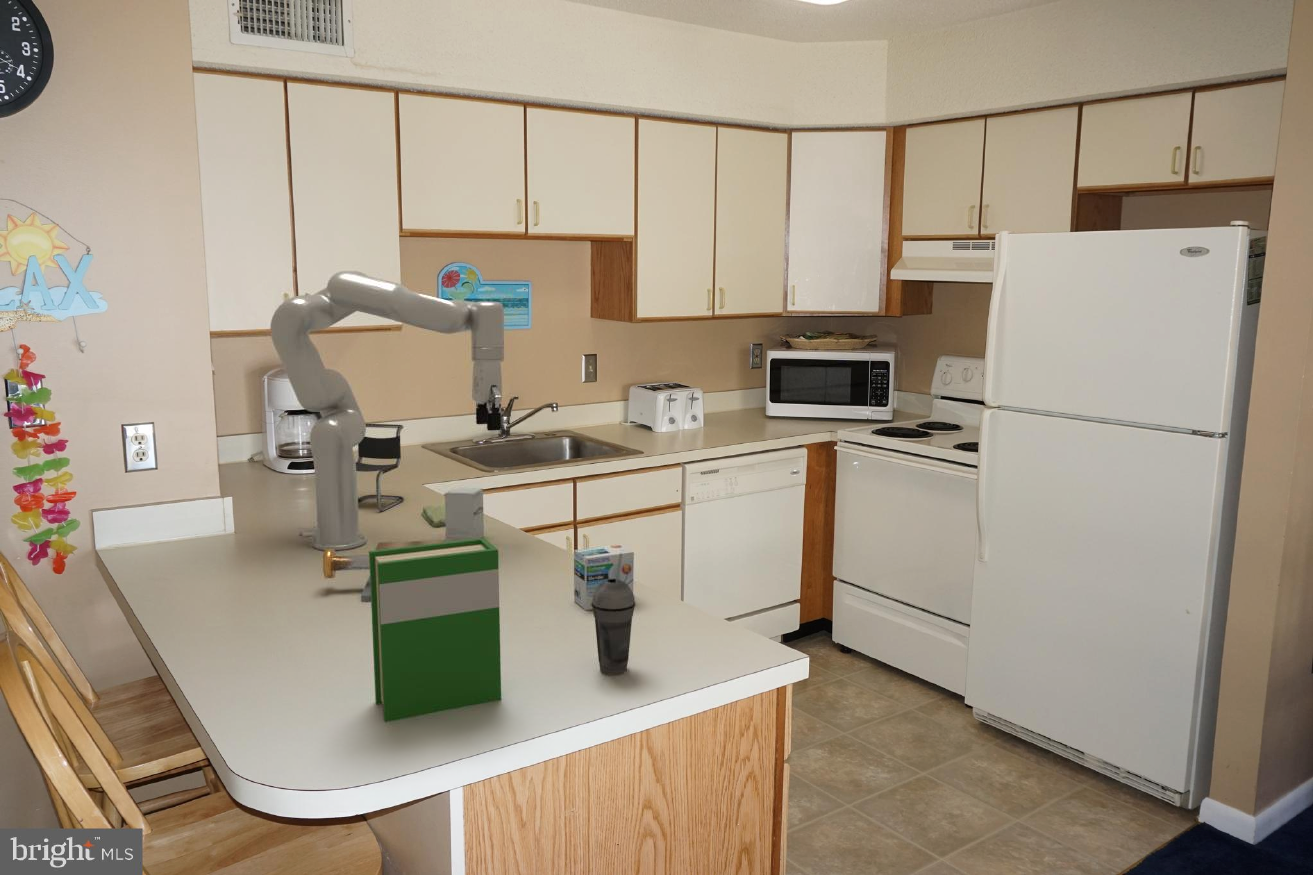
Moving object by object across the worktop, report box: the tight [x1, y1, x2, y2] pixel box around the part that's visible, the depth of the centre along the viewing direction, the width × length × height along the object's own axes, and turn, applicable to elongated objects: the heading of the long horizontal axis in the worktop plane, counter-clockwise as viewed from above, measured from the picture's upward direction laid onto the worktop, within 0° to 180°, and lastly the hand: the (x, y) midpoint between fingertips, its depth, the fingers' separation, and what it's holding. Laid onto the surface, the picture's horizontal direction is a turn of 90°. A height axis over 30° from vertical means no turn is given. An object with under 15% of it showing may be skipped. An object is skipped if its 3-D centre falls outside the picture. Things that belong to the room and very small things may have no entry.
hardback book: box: [368, 537, 502, 723], centre depth 148 cm, size 18×7×24 cm, turn 116°
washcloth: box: [420, 504, 446, 528], centre depth 261 cm, size 13×18×3 cm
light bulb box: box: [573, 543, 635, 611], centre depth 194 cm, size 11×7×11 cm, turn 117°
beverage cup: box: [591, 553, 636, 676], centre depth 160 cm, size 7×7×20 cm
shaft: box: [322, 549, 370, 580], centre depth 202 cm, size 20×6×6 cm, turn 99°
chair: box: [355, 423, 404, 512], centre depth 273 cm, size 13×17×22 cm
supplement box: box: [444, 486, 485, 542], centre depth 239 cm, size 7×7×13 cm
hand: (488, 427), depth 230 cm, fingers open, 9 cm apart
